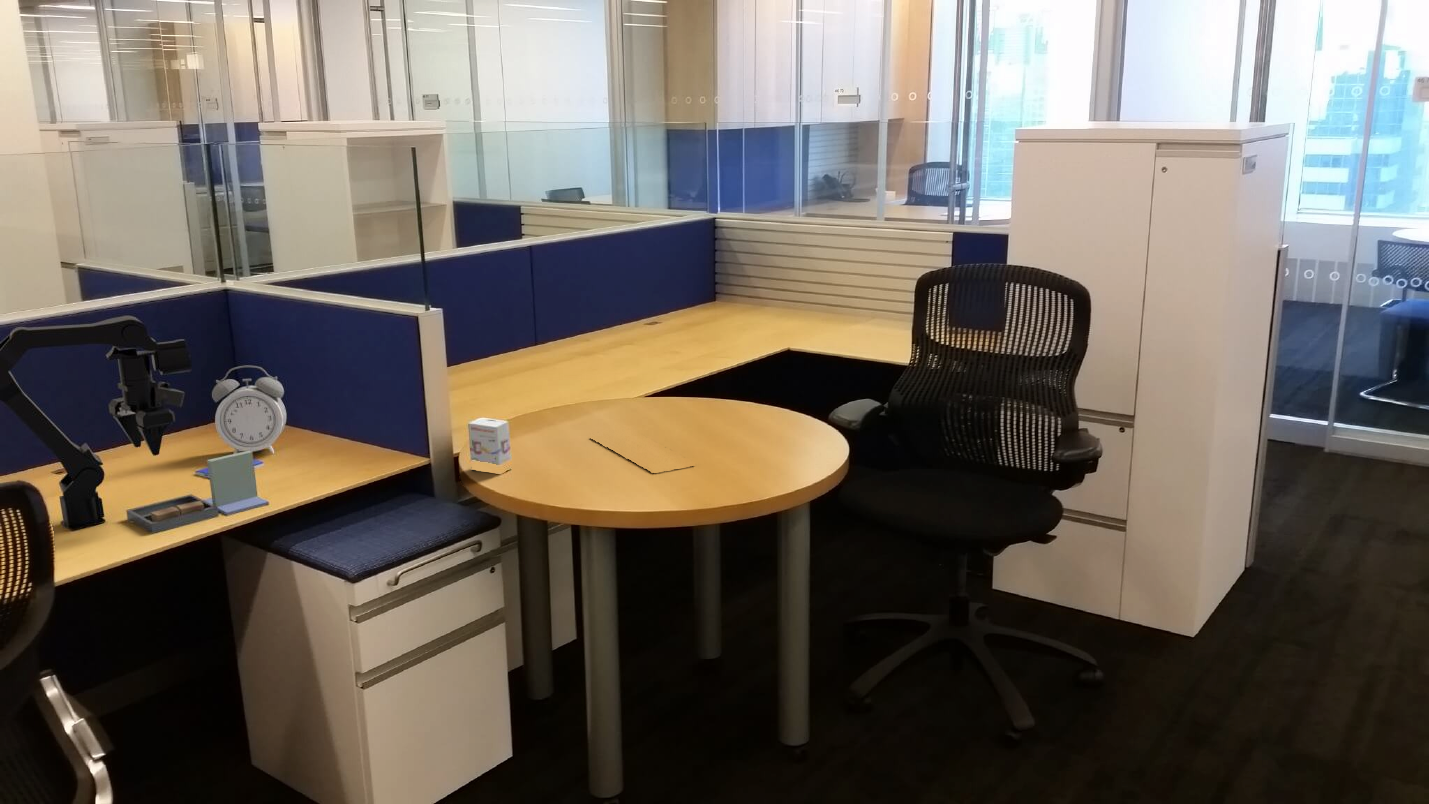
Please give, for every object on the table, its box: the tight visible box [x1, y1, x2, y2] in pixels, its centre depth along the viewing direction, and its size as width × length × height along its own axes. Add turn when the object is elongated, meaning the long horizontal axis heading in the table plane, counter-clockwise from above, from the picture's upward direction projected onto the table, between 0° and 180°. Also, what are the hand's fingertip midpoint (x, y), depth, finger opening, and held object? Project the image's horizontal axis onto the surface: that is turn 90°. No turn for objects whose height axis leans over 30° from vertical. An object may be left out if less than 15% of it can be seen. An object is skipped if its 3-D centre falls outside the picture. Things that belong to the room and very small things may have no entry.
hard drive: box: [194, 458, 265, 479], centre depth 259 cm, size 2×8×12 cm
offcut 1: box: [151, 507, 180, 522], centre depth 223 cm, size 4×3×3 cm
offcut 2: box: [177, 501, 204, 515], centre depth 227 cm, size 4×3×3 cm
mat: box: [203, 496, 270, 516], centre depth 235 cm, size 9×12×1 cm
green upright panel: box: [206, 451, 259, 507], centre depth 234 cm, size 9×2×10 cm, turn 138°
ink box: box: [467, 417, 512, 465], centre depth 255 cm, size 9×5×12 cm, turn 65°
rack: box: [125, 493, 220, 534], centre depth 227 cm, size 13×13×2 cm
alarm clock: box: [211, 365, 287, 455], centre depth 270 cm, size 16×9×22 cm, turn 104°
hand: (146, 451), depth 229 cm, fingers open, 9 cm apart
